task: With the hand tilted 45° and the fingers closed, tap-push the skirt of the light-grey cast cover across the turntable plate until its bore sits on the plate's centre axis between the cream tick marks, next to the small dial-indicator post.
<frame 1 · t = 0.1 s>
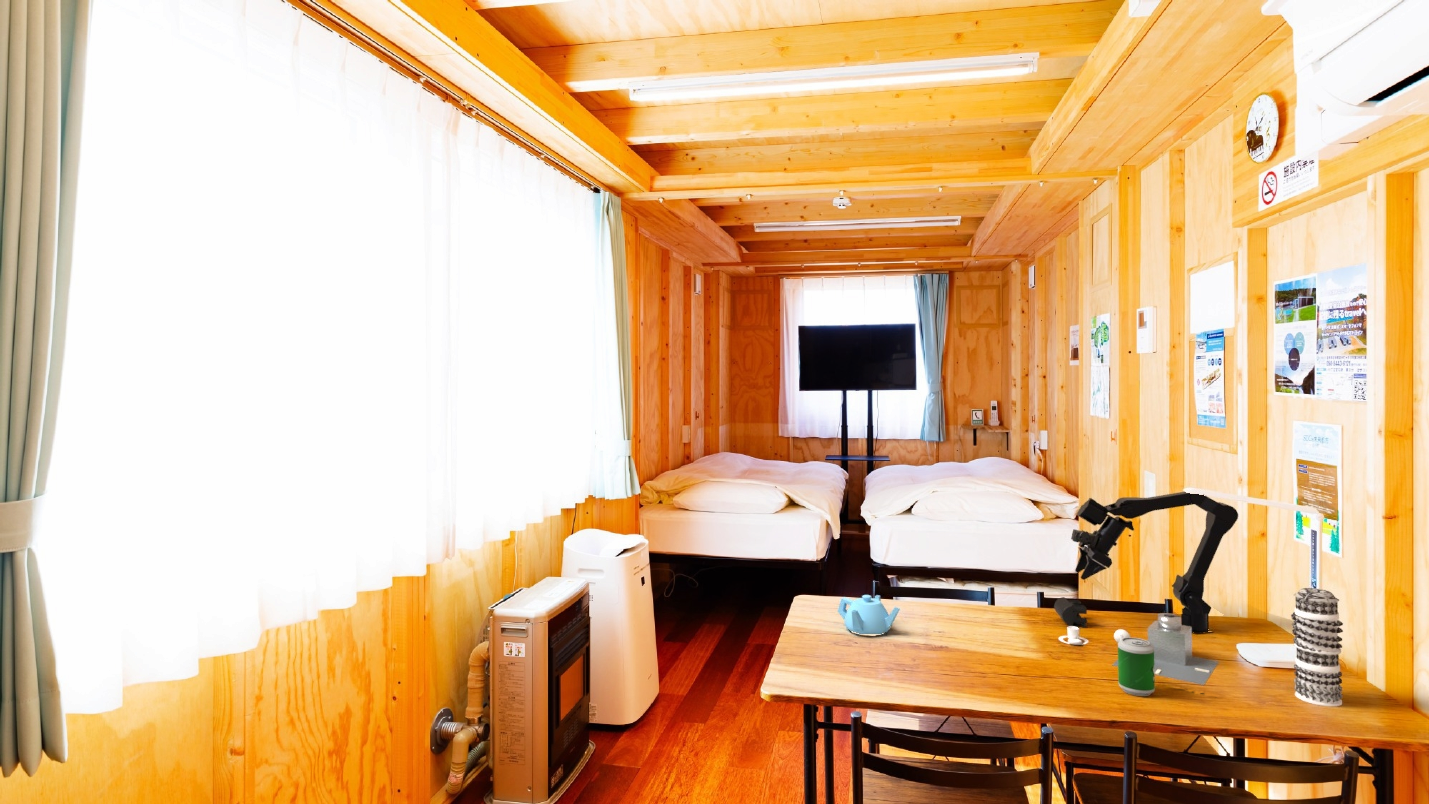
hand: (1079, 575, 224), 15 cm above the table, tool tilted 30°, fingers open, 9 cm apart
soda can: (1136, 692, 173), on the table
end cap: (1070, 623, 225), on the table
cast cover: (1170, 657, 191), point 1 cm above the table, touching turntable plate
teapot: (868, 631, 222), on the table
decorative candle: (1318, 699, 166), on the table
turntable plate: (1165, 667, 187), on the table
teacup and saucer: (1063, 643, 208), on the table
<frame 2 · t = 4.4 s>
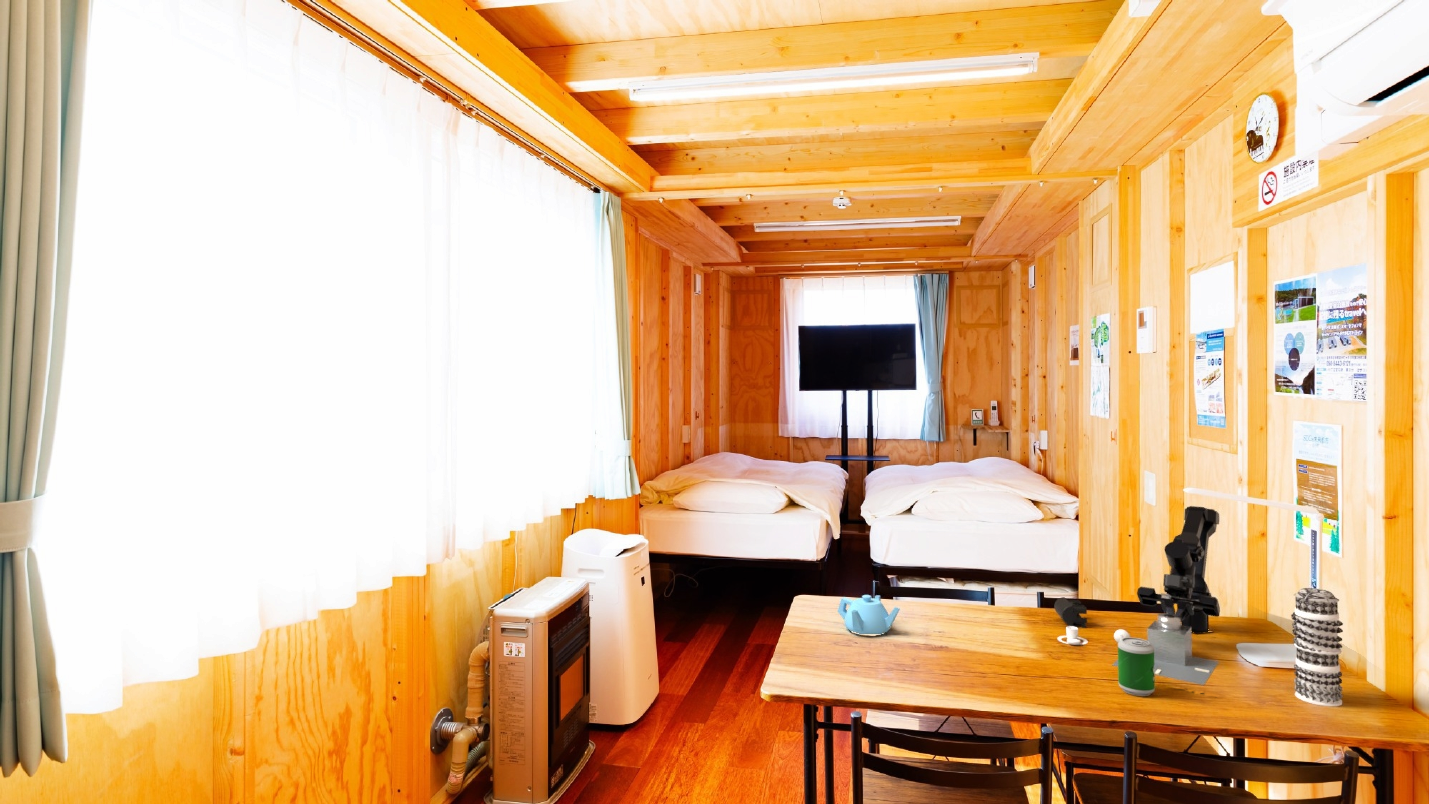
hand: (1173, 628, 194), 8 cm above the table, tool tilted 45°, fingers closed, pressing on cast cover
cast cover: (1169, 657, 191), point 1 cm above the table, touching gripper, turntable plate
everything else where it was.
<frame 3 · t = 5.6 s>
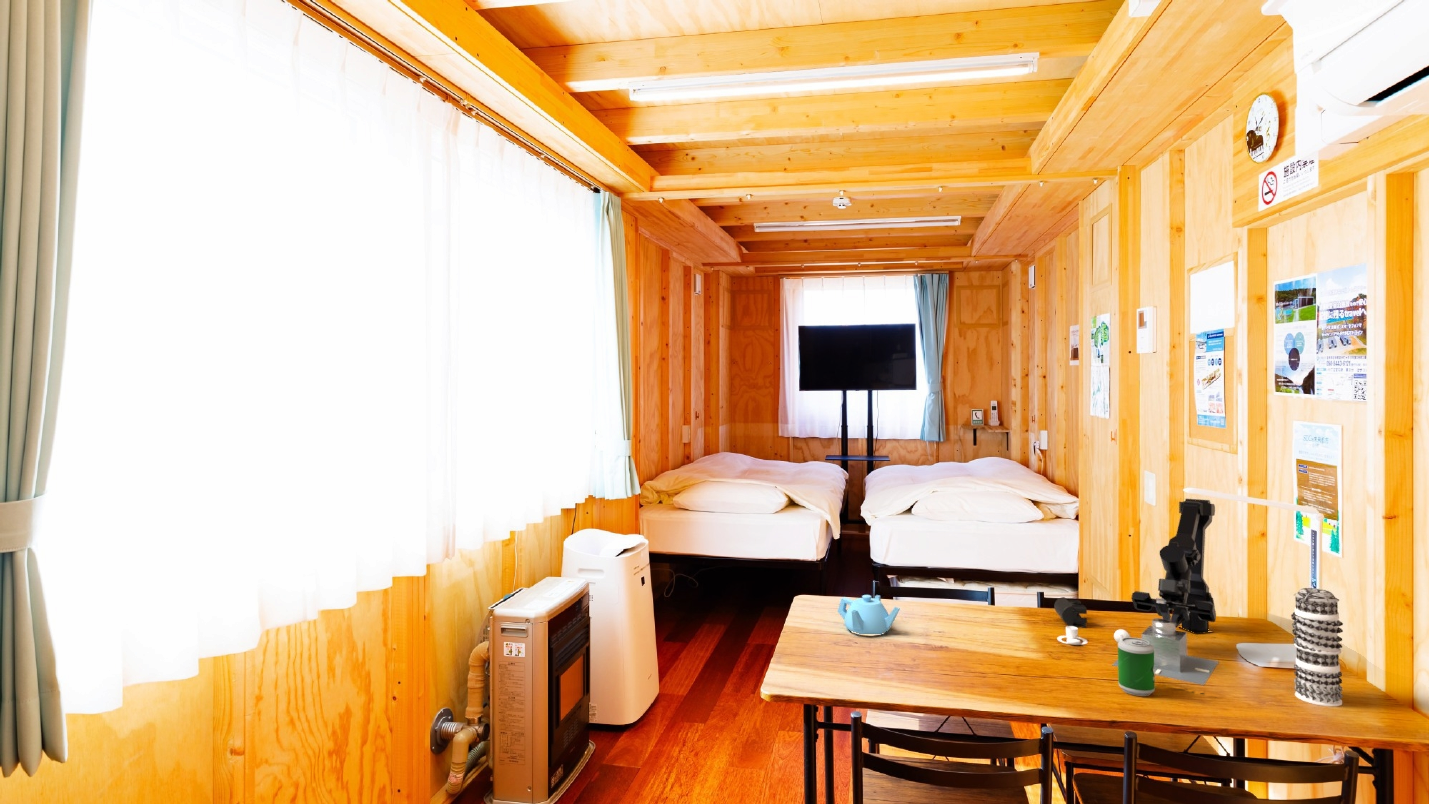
hand: (1168, 633, 190), 8 cm above the table, tool tilted 45°, fingers closed, pressing on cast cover
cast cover: (1164, 663, 187), point 1 cm above the table, touching gripper, turntable plate
everything else where it was.
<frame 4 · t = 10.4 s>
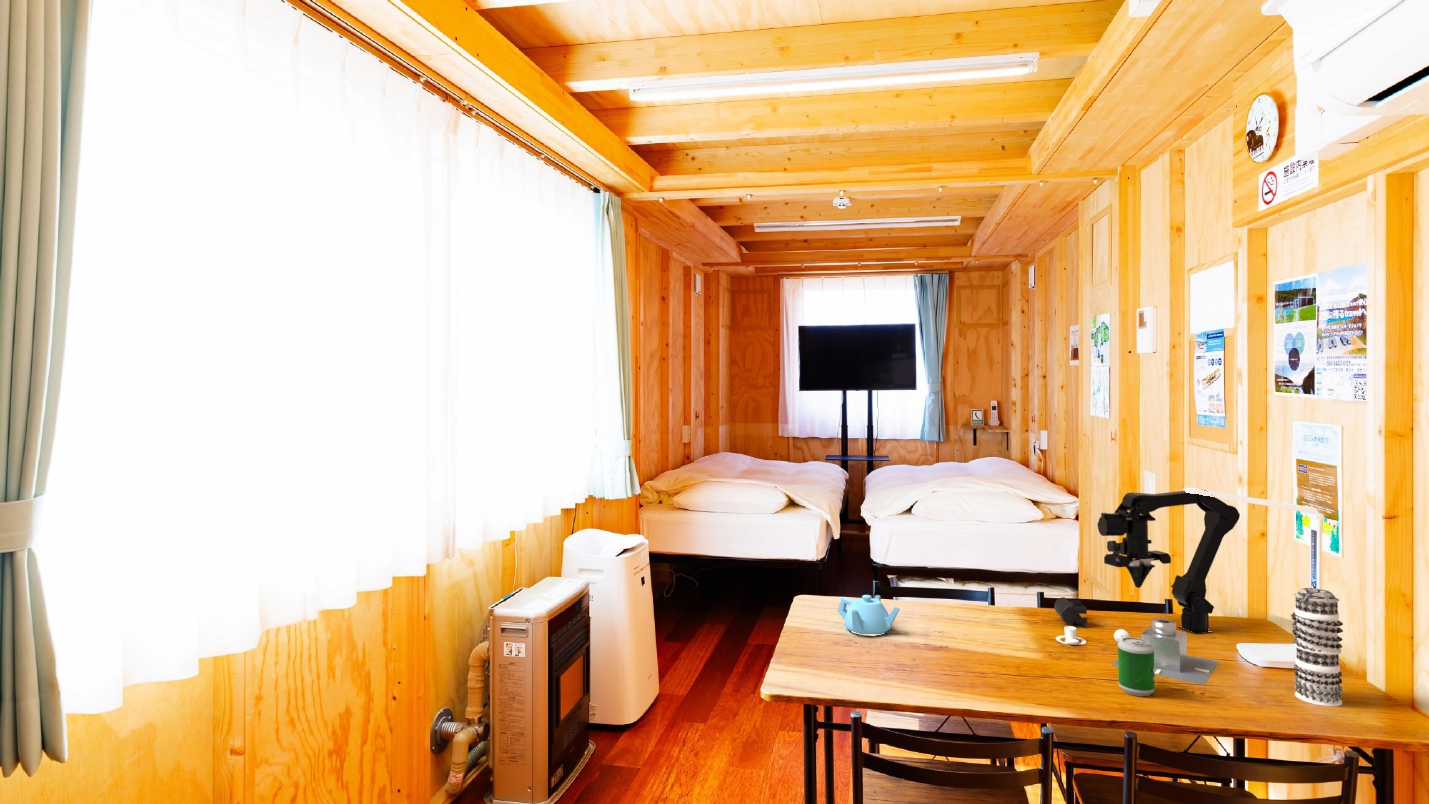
hand: (1138, 587, 216), 13 cm above the table, tool pointing down, fingers closed
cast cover: (1164, 663, 187), point 1 cm above the table, touching turntable plate
everything else where it was.
at the end: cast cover 0.6 cm from the turntable plate (horizontally); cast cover tilted 0° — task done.
